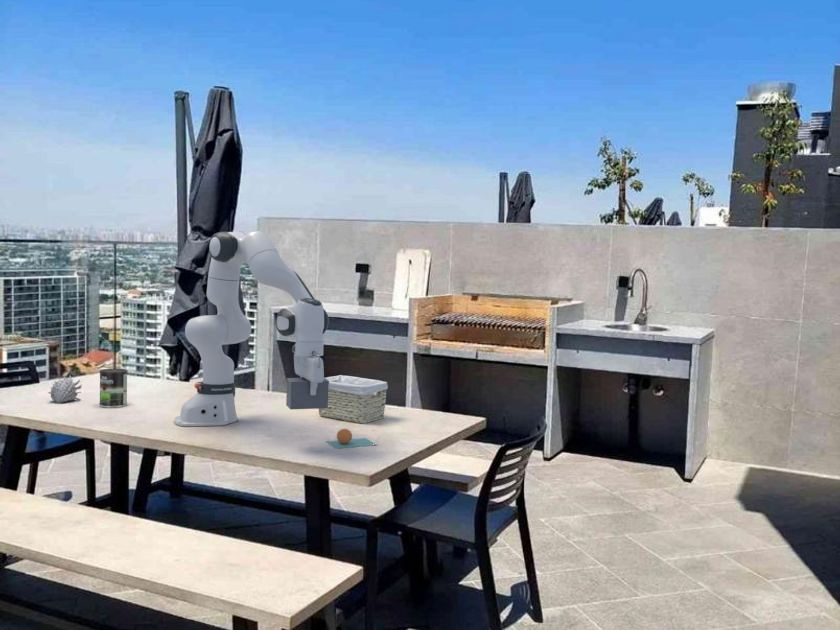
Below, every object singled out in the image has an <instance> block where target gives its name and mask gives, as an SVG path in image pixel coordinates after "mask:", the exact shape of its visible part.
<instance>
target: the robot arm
mask: <svg viewBox="0 0 840 630" xmlns="http://www.w3.org/2000/svg"><path fill="white" fill-rule="evenodd" d="M277 249H278V248H276V246H275V244H274V243H273V241H272V240H271V238H270V237H269V236H268V235H267V233H265V232H264V231H258V230H254V231H251V232H250V231H249V232H248V231H219V232H216V233H214V234H213V235H212V236H211V237H210V240H209V243H208V250H209V254H210V257H211V259H210V263H209V268H208V273H207V275H208V276H207V285H206V286H207V287H206V297H207V298H206V299H208V301H209V302H210V303H211V304H213V305H214V306H216V311H217V314H213V315H211V314H209V315H208V314H207V315H199V316H196V317H192V318H190V319H189V320H188V321H187V323H186V324H185V326H184V327H185V328H184V329H185V330H184V334H185V337H186V339H187V341H188V342H189V343H190V345H192V346H193V347H194V348H195V349H196V350H197V352H198V354H199V356H200V358H201V364H202V382H201V383H199V382H194V384H193V385H194V388H195V389H196V393H195V394H194V395H193V396H191V397H190V398H189V399H188V400H186V401H185V402H184V403H183V404H182V405H181V409H180V415H179V416H176V417H174V420H173V422H174V424H175V425H177V426H180V427H207V426H208V427H209V426H210V427H211V426H226V425H229V424H231V423H235V422H237V421H238V420H239V418H238V414H237V410H236V403H235V397H236V382H235V362H234V360H233V359H232V358H231V357H230V356H228V355H227V354H225V353H224V351H223V346H224V345H234V344H240V343H242V342H245V341H247V340H248V339H249V338H250V336H251V334H252V324H251V322H250V320H249V318H248V317H247V316H246V315H245V314H244V313H243V311H242V309H241V306H240V302H239V289H240V276H241V274H240V273H241V267H242V265H243V264H247V266H248V268H249V270H250V273H251V275H252V276H253V277H254V279H255V280H257V282H258V283H260V284H262V285H265V286H266V287H267V286H268V287H272V288H275V289H279V290H281V291H283V292H285V293H287V294H289V295H290V296H291V297H292V299H293V300H294V302H295V304H293V305H291V306H288V307H285V308H281V309H280V310H279V311H278V312H277V315H276V317H275V328H276V330H277V331H278V333H279V334H280V335H281V336H282V337H287V338H289V337H290V338H292V337H293V338H294V337H295V344H294V345H293V346H292V353H294V354H293V365H294V366H293V367H294V373H295V375H297V376H298V377H299V378H305V379H307V380H309V381H310V384H311V386H310V389H309V394H310V395H316V389H317V386H318V383H322V382H323V380H324V378H325V371H324V368H325V367H324V366H325V365H324V360H323V358H321V357H322V356H324V341H325V340H324V336H323V335H324V334H325V333H326V331H327V330H328V327H329V324H330V318H329V314H328V312H327V311H326V310H325V309H324V305H323V303H322V302H321V301H320V300H318V299H315V297H314V296H313V294H312V293H311V292H310V291H311V290H309V288H308V287H307V285H306V284H305V282H304V281H303V279H302V277H300V276H299V274H298V273H297V272H296V271H294V270H293V269H292V268H291V267H289V265H288V264H287V263H286V262H285V261H284V260H283V258H282V257H281V255H280V254H279V251H278V250H277Z"/></svg>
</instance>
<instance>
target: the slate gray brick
mask: <svg viewBox="0 0 840 630" xmlns="http://www.w3.org/2000/svg"><path fill="white" fill-rule="evenodd" d="M325 378H326V377H324V380H323V382H322V383H318V386H317V389H316V395H310V394H309V389H310V386H311V384H310V381H309V380H307V379H305V378H300V377H287V378H286V398H285V399H286V400H285V401H286V402H285V405H286V407H287V408H288V409H289V410H309V409H310V410H312V409H313V410H314V409H317V410H319V409H320V408H328V387H329V381H328V380H327V379H325Z"/></svg>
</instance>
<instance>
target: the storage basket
mask: <svg viewBox="0 0 840 630" xmlns="http://www.w3.org/2000/svg"><path fill="white" fill-rule="evenodd" d="M324 378H325V379H327V380H328V381H329V387H328V408H320V409H318V415H319V416H320V417H323V418H324V417H325V418H330V419H334V420H340V421H345V422H353V423H358V424H363V423H364V424H368V423H371V421H372V422H375V420H376V421H378V419H380V420H381V419H383V418H384V417H385V408H386V403H387V401H386V400H387V399H386V398H387V390H388V388H389V386H388V382H387V381H382V380H379V379H372V378H371V379H370V378H365V377H359V376H351V375H342V374H340V375H334V376H327V377H324Z"/></svg>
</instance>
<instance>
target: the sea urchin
mask: <svg viewBox="0 0 840 630" xmlns="http://www.w3.org/2000/svg"><path fill="white" fill-rule="evenodd" d="M80 382H81V380H80V379H78V380H77V381H76V382H74V380H73V378H72V376H71V375H69V377H68V378H67V377H66V375H64V376H63V379H61V378H60V377H59V379H58V381H56V380H54V381H53V383H52V387H50V391H49V392H47V394H50V398H51V400H52V401H54V402H55V403H58V404H62V403H65V402H69V401H70V402H71V401H75V400H76V401H81V400H82V399H81V398H78V397H77V396H78V394H80V393H82V391H79V392H78V391H77V390H81V389H82V388H83V387H82V384H80V385H78V384H79V383H80ZM77 385H78V386H77ZM76 391H77V392H76Z"/></svg>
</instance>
